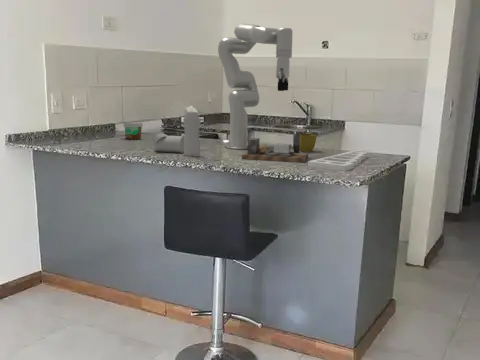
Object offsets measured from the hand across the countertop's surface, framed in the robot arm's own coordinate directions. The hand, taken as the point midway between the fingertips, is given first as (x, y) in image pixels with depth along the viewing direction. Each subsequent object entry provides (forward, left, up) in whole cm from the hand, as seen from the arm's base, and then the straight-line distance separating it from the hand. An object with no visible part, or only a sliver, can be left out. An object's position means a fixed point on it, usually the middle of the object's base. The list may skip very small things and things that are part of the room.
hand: (282, 90), depth 263 cm
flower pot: (+9, +22, -32) cm, 40 cm away
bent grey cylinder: (-60, -2, -33) cm, 68 cm away
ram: (+5, -9, -29) cm, 31 cm away
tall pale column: (-42, -14, -32) cm, 55 cm away
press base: (-1, -9, -32) cm, 34 cm away
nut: (-7, -9, -30) cm, 32 cm away
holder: (+34, -8, -33) cm, 48 cm away
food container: (-99, +35, -32) cm, 110 cm away
